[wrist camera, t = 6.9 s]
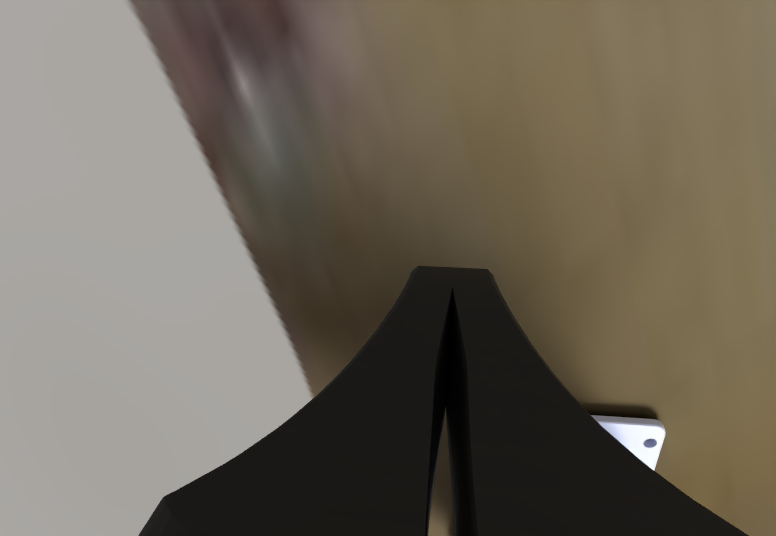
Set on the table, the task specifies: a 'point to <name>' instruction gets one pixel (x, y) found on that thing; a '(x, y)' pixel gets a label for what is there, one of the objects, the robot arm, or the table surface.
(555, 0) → the table surface
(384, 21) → the table surface
